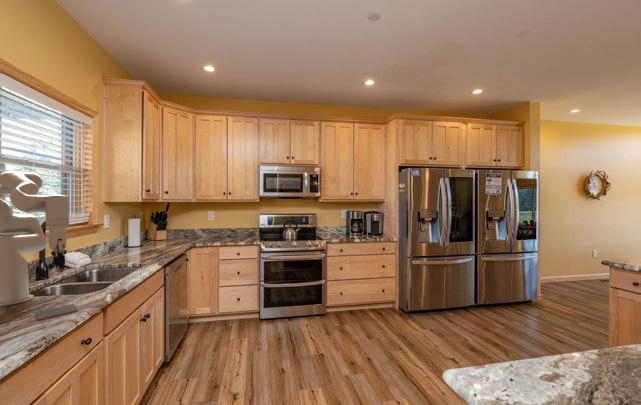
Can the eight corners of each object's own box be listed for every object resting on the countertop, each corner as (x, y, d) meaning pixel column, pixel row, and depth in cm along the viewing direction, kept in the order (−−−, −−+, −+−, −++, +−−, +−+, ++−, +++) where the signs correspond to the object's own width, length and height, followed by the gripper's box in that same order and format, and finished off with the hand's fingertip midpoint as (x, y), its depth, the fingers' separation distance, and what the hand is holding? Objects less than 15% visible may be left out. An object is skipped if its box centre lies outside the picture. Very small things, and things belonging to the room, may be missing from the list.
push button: (69, 271, 123) (68, 249, 122) (52, 274, 119) (51, 251, 118) (67, 268, 127) (66, 247, 127) (51, 271, 123) (50, 248, 123)
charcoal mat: (35, 313, 117) (35, 311, 117) (73, 304, 126) (73, 303, 126) (37, 320, 109) (37, 319, 109) (77, 311, 118) (77, 310, 118)
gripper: (43, 223, 126) (45, 263, 126) (47, 224, 114) (49, 268, 114) (66, 222, 131) (67, 260, 131) (72, 222, 120) (73, 265, 120)
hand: (59, 264), depth 123 cm, fingers closed on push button, 4 cm apart
